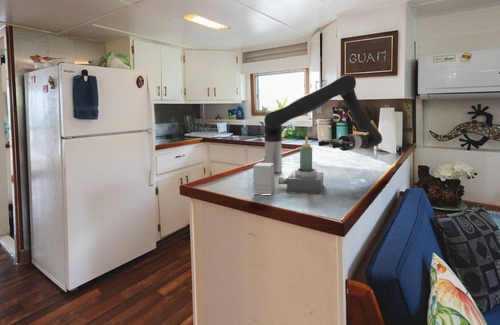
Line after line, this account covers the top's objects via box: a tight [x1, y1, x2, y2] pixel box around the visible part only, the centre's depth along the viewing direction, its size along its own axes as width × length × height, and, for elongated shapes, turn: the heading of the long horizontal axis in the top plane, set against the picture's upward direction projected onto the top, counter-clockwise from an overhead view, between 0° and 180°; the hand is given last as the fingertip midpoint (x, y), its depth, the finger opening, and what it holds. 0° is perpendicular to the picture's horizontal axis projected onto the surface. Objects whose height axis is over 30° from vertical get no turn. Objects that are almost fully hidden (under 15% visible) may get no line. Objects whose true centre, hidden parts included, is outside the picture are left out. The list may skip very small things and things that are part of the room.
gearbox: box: [277, 167, 324, 195], centre depth 137 cm, size 19×16×8 cm
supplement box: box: [252, 162, 276, 195], centre depth 131 cm, size 7×7×13 cm
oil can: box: [299, 136, 313, 172], centre depth 135 cm, size 5×5×17 cm
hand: (325, 144), depth 142 cm, fingers open, 8 cm apart
